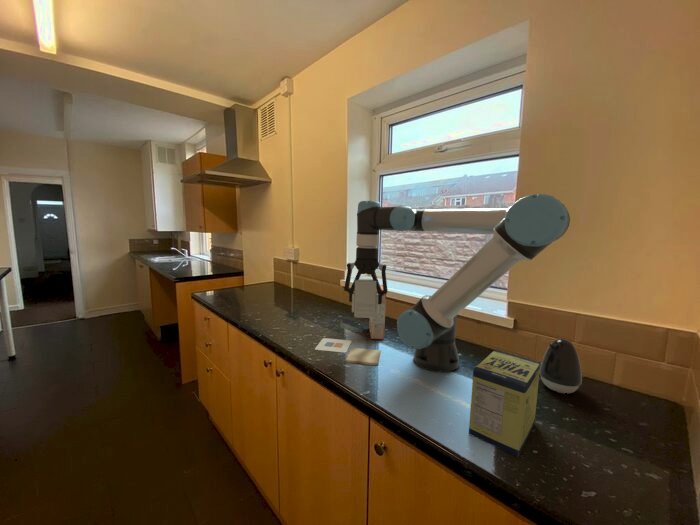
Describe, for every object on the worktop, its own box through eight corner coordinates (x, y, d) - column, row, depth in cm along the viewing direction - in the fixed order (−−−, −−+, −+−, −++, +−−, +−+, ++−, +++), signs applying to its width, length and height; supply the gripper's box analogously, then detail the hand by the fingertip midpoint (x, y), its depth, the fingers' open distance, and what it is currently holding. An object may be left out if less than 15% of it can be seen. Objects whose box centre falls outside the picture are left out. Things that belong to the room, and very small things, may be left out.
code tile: (351, 341, 122) (351, 340, 122) (345, 352, 110) (345, 352, 110) (323, 338, 124) (323, 338, 124) (314, 349, 112) (314, 349, 112)
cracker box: (384, 340, 124) (386, 290, 122) (370, 339, 124) (372, 290, 122) (382, 328, 138) (383, 284, 136) (368, 328, 138) (370, 283, 136)
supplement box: (375, 312, 109) (376, 278, 107) (375, 318, 101) (376, 281, 100) (355, 311, 109) (356, 277, 108) (353, 317, 102) (354, 280, 101)
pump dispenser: (529, 383, 91) (534, 335, 90) (553, 378, 95) (558, 331, 93) (563, 401, 82) (569, 347, 80) (588, 394, 86) (594, 343, 84)
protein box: (535, 423, 72) (541, 361, 71) (519, 458, 61) (526, 386, 59) (489, 405, 79) (494, 348, 77) (467, 434, 68) (472, 368, 66)
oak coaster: (380, 352, 111) (380, 350, 111) (377, 365, 101) (378, 363, 100) (351, 349, 113) (351, 347, 113) (345, 362, 103) (345, 359, 102)
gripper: (397, 247, 104) (394, 311, 107) (340, 245, 108) (339, 307, 111) (397, 248, 97) (394, 317, 100) (335, 246, 101) (334, 312, 103)
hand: (365, 312), depth 105 cm, fingers closed on supplement box, 8 cm apart
